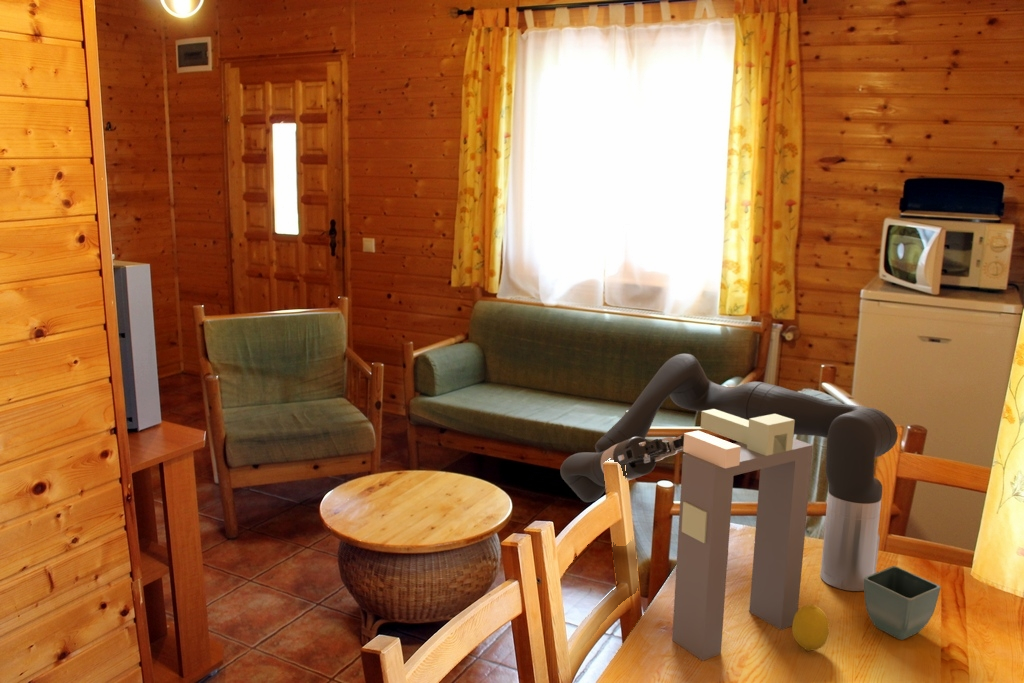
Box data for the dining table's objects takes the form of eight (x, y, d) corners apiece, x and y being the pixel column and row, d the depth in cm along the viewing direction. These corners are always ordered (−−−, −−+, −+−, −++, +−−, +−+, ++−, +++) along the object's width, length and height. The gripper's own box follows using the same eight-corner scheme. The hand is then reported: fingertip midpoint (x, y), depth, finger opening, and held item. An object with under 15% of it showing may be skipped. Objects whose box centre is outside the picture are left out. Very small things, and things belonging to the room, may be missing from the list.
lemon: (829, 662, 132) (833, 615, 131) (792, 657, 134) (796, 611, 132) (823, 643, 138) (828, 598, 136) (788, 639, 139) (792, 594, 137)
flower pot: (904, 650, 136) (910, 599, 134) (857, 625, 143) (862, 577, 142) (936, 635, 141) (942, 586, 139) (888, 612, 148) (894, 565, 146)
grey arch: (765, 605, 149) (779, 433, 143) (796, 623, 144) (812, 444, 137) (670, 640, 138) (681, 454, 132) (701, 661, 132) (713, 468, 126)
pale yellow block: (719, 424, 148) (721, 396, 147) (792, 449, 135) (794, 419, 134) (694, 429, 145) (695, 401, 144) (766, 455, 132) (768, 425, 131)
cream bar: (697, 448, 135) (698, 430, 134) (739, 465, 127) (740, 446, 127) (683, 451, 133) (684, 433, 133) (725, 468, 126) (726, 449, 125)
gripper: (660, 472, 169) (713, 454, 156) (604, 485, 162) (655, 466, 148) (649, 436, 171) (701, 415, 157) (593, 447, 163) (643, 426, 150)
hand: (679, 440), depth 153 cm, fingers open, 8 cm apart
